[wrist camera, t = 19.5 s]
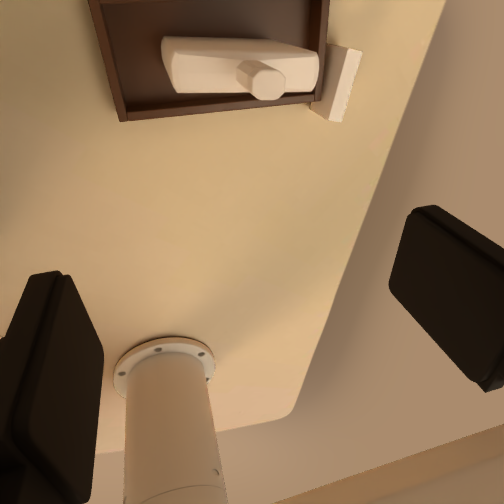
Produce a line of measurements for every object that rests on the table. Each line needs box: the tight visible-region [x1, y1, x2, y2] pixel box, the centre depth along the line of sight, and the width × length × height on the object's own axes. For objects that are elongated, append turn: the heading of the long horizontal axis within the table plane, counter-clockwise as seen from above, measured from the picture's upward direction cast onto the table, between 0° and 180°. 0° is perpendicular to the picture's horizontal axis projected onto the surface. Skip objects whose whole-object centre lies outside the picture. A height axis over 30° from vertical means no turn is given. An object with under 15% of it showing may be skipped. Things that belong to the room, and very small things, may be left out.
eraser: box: [310, 44, 363, 122], centre depth 26 cm, size 1×5×4 cm, turn 171°
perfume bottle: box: [161, 36, 319, 100], centre depth 19 cm, size 8×2×12 cm, turn 88°
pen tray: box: [88, 0, 330, 122], centre depth 24 cm, size 15×7×2 cm, turn 92°
